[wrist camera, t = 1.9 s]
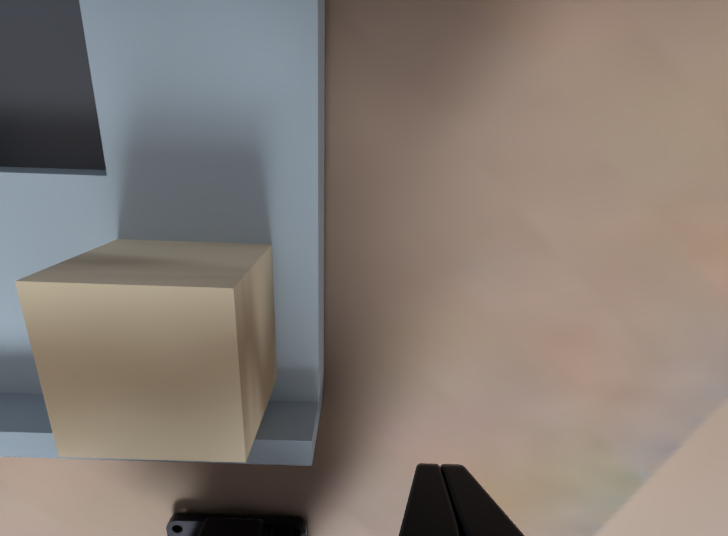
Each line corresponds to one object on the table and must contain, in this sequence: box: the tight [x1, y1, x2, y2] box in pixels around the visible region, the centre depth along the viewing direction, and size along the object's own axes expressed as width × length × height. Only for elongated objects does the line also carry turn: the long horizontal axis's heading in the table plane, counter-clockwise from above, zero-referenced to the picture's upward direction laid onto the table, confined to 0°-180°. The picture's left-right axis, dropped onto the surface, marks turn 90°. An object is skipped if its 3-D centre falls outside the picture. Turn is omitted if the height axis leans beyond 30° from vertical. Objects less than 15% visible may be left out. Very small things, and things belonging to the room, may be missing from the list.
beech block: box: [15, 239, 277, 463], centre depth 12 cm, size 5×5×4 cm
